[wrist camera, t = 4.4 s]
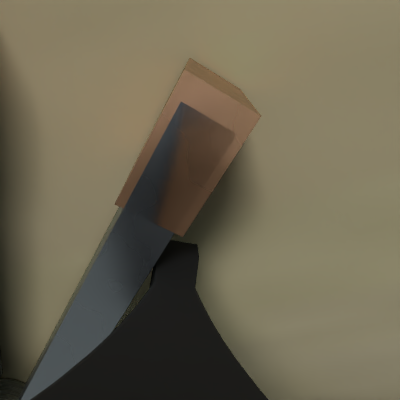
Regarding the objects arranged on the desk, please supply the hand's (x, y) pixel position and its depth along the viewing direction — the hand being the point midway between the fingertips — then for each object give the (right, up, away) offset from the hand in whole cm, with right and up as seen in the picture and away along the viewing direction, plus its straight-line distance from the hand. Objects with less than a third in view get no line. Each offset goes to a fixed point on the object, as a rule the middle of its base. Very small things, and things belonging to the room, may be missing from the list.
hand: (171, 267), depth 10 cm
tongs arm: (-2, 0, +2) cm, 3 cm away
